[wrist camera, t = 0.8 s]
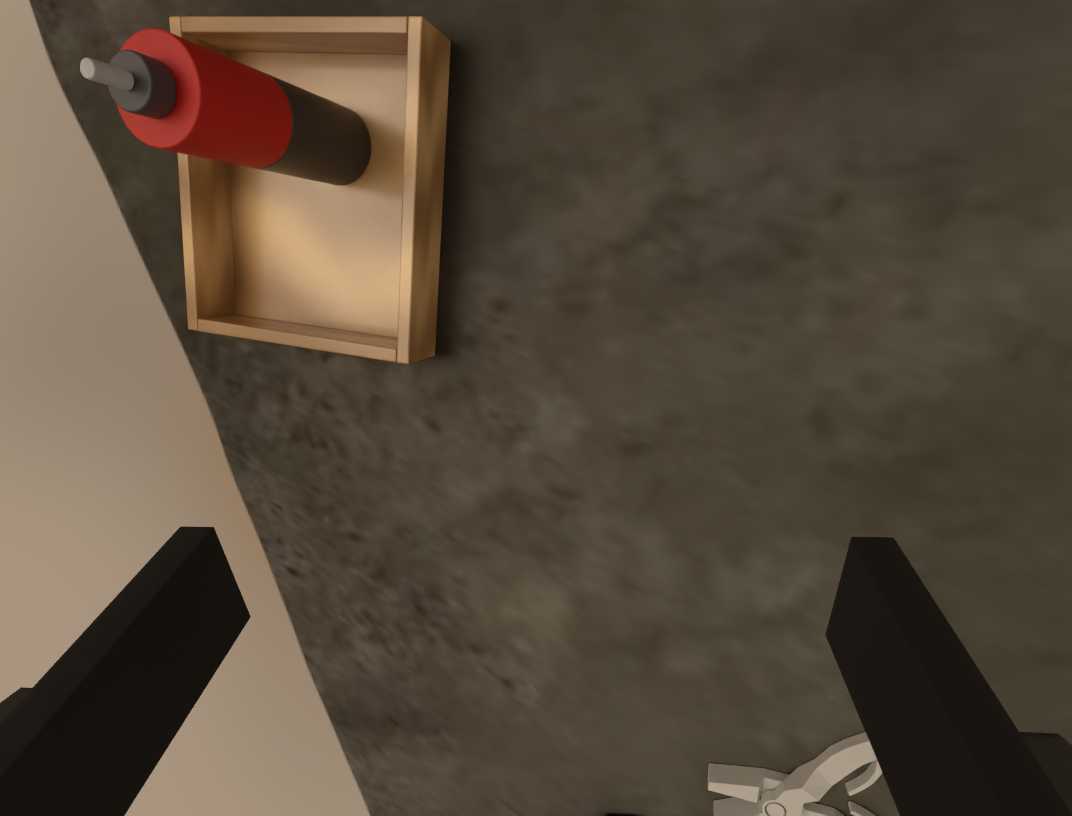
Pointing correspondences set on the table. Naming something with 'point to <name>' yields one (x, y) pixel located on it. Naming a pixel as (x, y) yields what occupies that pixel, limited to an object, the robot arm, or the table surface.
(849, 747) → the pliers
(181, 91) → the red squeeze bottle
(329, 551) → the table surface
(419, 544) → the table surface
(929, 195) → the table surface
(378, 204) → the storage box
